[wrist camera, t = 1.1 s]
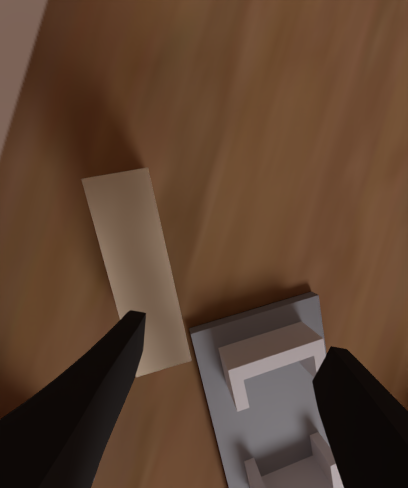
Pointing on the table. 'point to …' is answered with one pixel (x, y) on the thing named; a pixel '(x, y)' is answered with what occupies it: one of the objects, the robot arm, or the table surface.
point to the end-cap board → (267, 394)
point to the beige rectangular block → (138, 263)
